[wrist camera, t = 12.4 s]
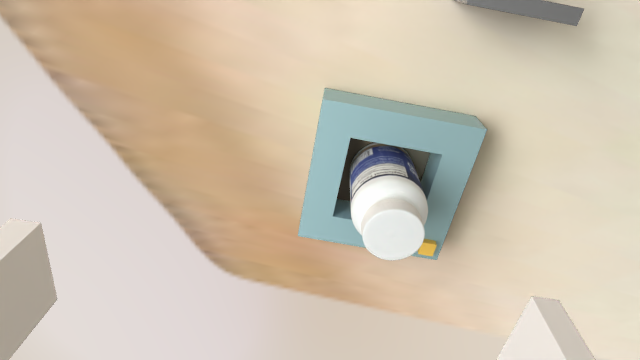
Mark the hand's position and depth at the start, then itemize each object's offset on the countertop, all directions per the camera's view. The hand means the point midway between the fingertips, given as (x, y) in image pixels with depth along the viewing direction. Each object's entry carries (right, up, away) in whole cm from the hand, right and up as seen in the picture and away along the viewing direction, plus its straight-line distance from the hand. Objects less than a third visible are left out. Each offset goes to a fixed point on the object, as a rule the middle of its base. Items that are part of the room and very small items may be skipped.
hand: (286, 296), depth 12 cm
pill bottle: (+6, +4, +24) cm, 25 cm away
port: (+6, +4, +24) cm, 25 cm away
